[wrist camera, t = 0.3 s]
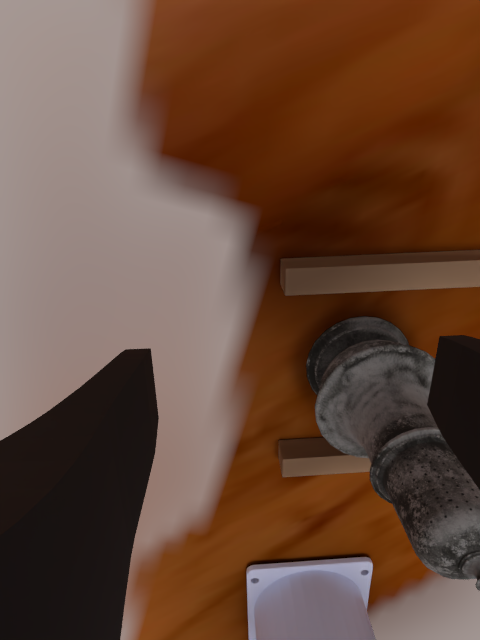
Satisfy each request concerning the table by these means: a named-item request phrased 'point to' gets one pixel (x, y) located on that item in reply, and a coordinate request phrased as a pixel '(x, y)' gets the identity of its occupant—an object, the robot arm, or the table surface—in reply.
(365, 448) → the grey stone finial
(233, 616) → the table surface
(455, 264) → the guide channel
